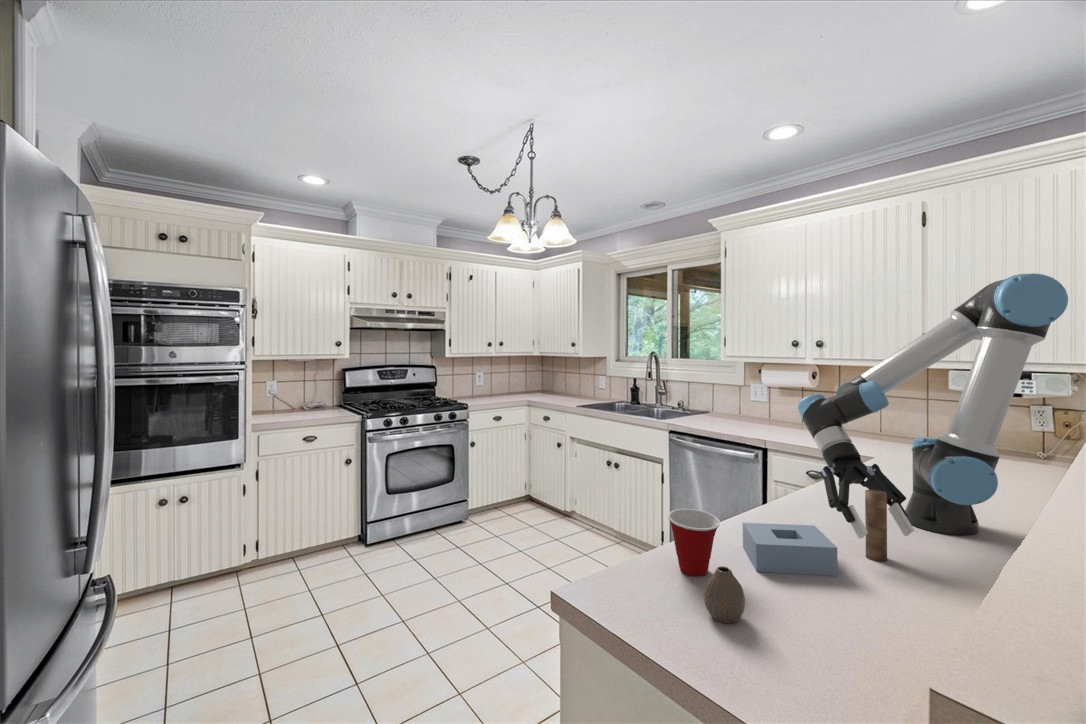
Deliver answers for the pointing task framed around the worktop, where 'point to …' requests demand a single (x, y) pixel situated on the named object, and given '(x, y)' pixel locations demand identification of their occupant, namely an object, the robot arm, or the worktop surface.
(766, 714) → the worktop surface
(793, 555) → the bore block
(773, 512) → the worktop surface
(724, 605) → the vase
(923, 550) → the worktop surface
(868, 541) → the walnut peg
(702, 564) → the plastic cup
